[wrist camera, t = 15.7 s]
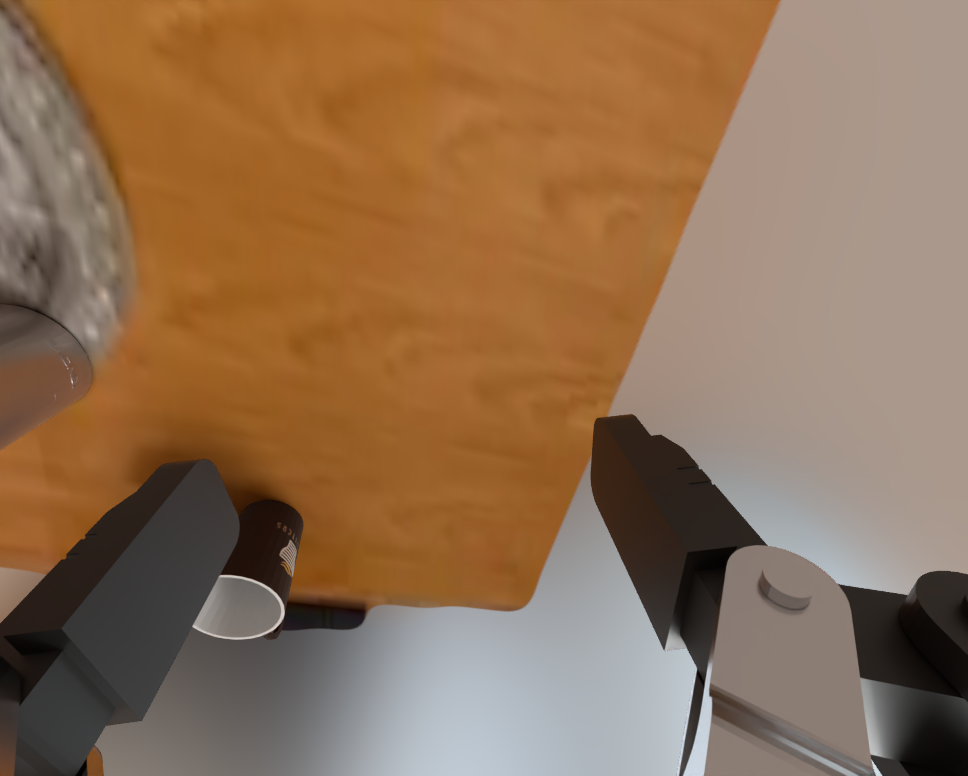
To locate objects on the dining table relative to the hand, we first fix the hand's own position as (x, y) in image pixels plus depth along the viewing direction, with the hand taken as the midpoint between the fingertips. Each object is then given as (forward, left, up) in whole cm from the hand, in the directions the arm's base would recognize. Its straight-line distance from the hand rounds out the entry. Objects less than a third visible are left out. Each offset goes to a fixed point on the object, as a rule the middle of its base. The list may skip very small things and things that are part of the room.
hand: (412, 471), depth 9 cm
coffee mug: (-21, -28, -28) cm, 45 cm away
